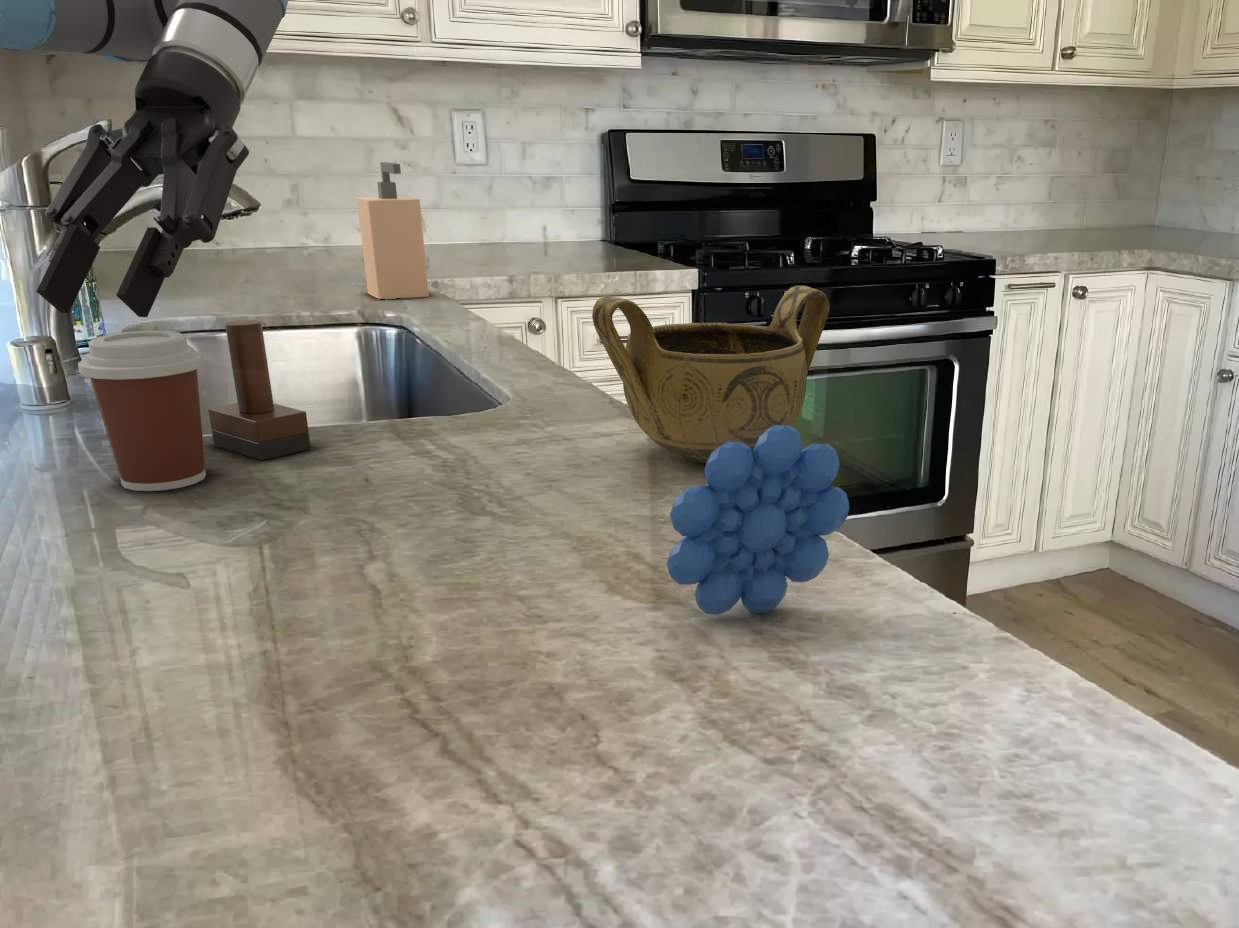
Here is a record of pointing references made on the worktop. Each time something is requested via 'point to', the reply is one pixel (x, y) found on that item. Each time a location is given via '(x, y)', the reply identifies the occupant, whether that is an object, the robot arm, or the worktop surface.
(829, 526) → the blue flower shape
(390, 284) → the soap dispenser
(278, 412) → the rubber stamp
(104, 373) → the coffee cup
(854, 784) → the worktop surface
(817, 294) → the ceramic bowl
